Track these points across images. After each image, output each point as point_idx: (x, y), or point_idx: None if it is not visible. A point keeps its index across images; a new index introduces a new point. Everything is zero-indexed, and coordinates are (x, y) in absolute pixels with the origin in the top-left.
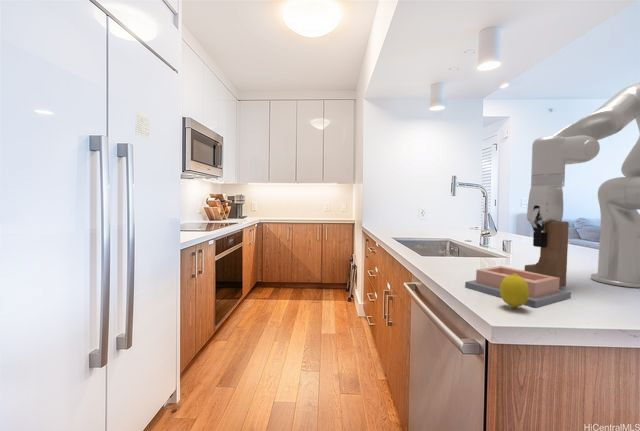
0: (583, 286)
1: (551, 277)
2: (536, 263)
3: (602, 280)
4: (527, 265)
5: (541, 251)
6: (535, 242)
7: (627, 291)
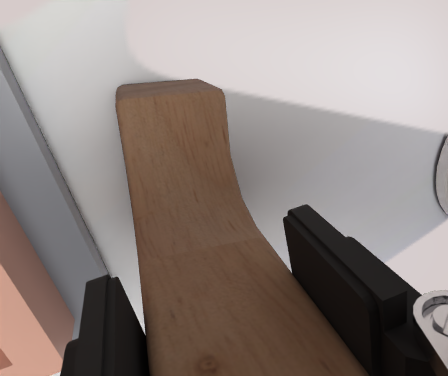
0: (327, 183)
1: (30, 363)
2: (132, 196)
3: (445, 159)
4: (120, 123)
5: (141, 281)
6: (67, 349)
7: (390, 246)
